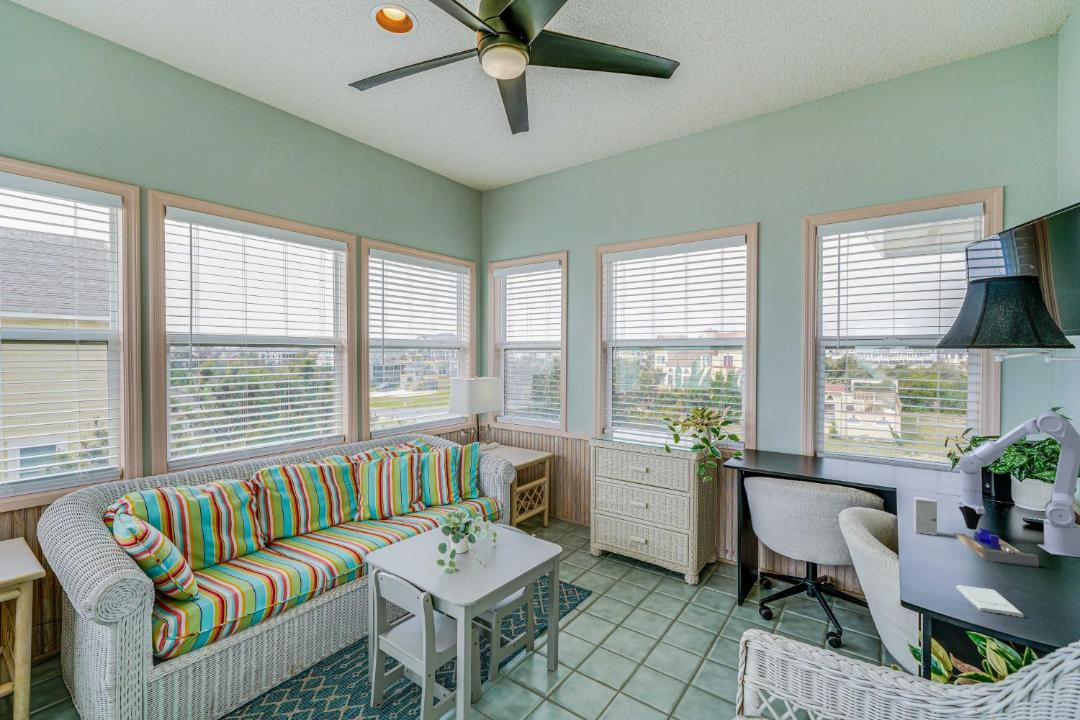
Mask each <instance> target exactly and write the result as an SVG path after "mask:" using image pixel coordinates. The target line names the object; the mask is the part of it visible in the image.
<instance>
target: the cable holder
mask: <svg viewBox="0 0 1080 720" xmlns="http://www.w3.org/2000/svg"><path fill="white" fill-rule="evenodd" d="M975 538H976V539H977V540H978V541H979V542H978V541H977V540H976V539H975ZM999 538H1000V536H998V535H996V534H991V530H990V529H989V528H982V527H980V528H979V531H974V539H975V540H976V541H977V542H978V543H980V542H982V543H981V544H986V545H987V546H989V548H991V549H1000V548H999Z"/></svg>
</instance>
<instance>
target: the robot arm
mask: <svg viewBox="0 0 1080 720" xmlns="http://www.w3.org/2000/svg"><path fill="white" fill-rule="evenodd" d="M1041 431H1042V432H1043V433H1045V434H1047V435H1049V436H1051V437H1053V438H1054V439H1055V440H1056V441H1057V442H1058V443H1060V445H1061V446H1060V451H1059V457H1058V461H1057V466H1056V467H1057V468H1056V474H1055V478H1054V485H1053V489H1052V494H1051V498H1050V500H1049V501H1048V502H1047V503H1046V504H1045V507H1044V508H1045V517H1046V518H1044V519H1043V544H1041V543H1040V544H1038V543H1037V546H1038V548H1041V549H1042V550H1044V551H1045V552H1047V553H1049V554H1050V555H1054V556H1055V555H1056V556H1064V557H1065V556H1066V557H1075V558H1080V525H1078V523H1076V522H1075V521H1076V514H1075V509H1074V499H1075V492H1076V489H1077V488H1076V487H1077V482H1078V477H1079V476H1078V475H1079V470H1080V434H1079V433H1078V431H1077V430H1076V429H1075V427H1074V426H1073V424H1072V423H1071V422H1070V420H1069V419H1067V418H1066V417H1064V416H1063V415H1061V414H1060V413H1057V412H1054V411H1044V412H1041V413H1040V414H1038V415H1037V416H1034V417H1032V418H1030V419H1027V420H1025V421H1024V422H1022V423H1020V424H1019V425H1017V426H1015V427H1014V428H1013V429H1011V430H1010V431H1008V432H1007V433H1005V434H1004V435H1002V436H1001V437H1000V438H998V439H997V440H986V441H982V442H980V443H979V445H978V447H976V448H974V449H973V450H972V451H971V450H968V451H967V452H966V454H965V455H963V456H962V457H961V458H960V459H959V461H958V466H959V467H958V468H960V470H959V496H958V500H956V501H955V503H956V504H958V505H959V506H958V508H959V511H960V512H961V514H962V516H963V518H964V523H965V526H966V528H967V529H969V530H972V531H973V530H977V528H978V525H979V522H980V519H981V518H982V517H983V516H984V515H986V508H984V503H983V482H982V481H983V479H982V477H981V473H982V472H981V469H982V467H983V466H988V465H990V464H991V463H993V462H994V461H996V460H998V459H999V458H1001V457H1002V456H1004V455H1005V452H1006V451H1005V449H1006V448H1007V447H1010V446H1011V445H1013V444H1015V443H1016V442H1019V440H1022V439H1023V438H1025V437H1027V436H1029V435H1039V434H1041ZM961 505H962V506H961Z"/></svg>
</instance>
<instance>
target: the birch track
mask: <svg viewBox="0 0 1080 720" xmlns="http://www.w3.org/2000/svg"><path fill="white" fill-rule="evenodd" d="M953 537H955V538H956V539H957V538H958V540H959V541H960V542H961V543H962V544H964V545H965V546H966V545H967V546H966V547H968V548H969V549H971V551H973V552H974V553H976V554H977V555H978V556H979V557H981V558H982V559H983V549H986V548H985V547H983V546H982V545H981V544H979V542H977V541H975V540H974V539H972V538H971V537H969V536H968V535H967V534H965V533H962V532H961V533H959V532H954V533H953ZM1006 547H1008V548H1013V549H1015V552H1018V553H1023V552H1022V551H1020V550H1019V549H1017V548H1015V547H1014V546H1012V545H1011V544H1009V543H1008V542H1006V541H1005V540H1003V539H1001V538H1000V537H999V548H998V549H1001V551H1006V550H1005V548H1006Z"/></svg>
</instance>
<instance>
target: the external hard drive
mask: <svg viewBox="0 0 1080 720" xmlns="http://www.w3.org/2000/svg"><path fill="white" fill-rule="evenodd" d="M956 590H957V591H958V592H959V593H960V594H961V595H962V596H963V597H964V598H966V600H968V601H969V602H970V604H972V605H973V606H974V605H975V606H976V607H977V608H978V609H979V610H980V611H979V610H978V609H977V608H976V607H975V606H974V607H975V608H976V609H977V610H978V611H979V612H981V611H987V612H986V613H988V612H993V613H992V614H995V613H1001V614H1000V615H1004V614H1005V615H1004V616H1009V615H1012V616H1011V617H1016V616H1018V618H1024V613H1023V612H1021V611H1020V610H1019V609H1018V608H1017V607H1015V606H1014V605H1013V604H1012V603H1011V602H1009V601H1008V600H1007V599H1006V597H1003V595H1001V594H1000V593H999V592H998V591H996V590H995V589H992V588H985V587H983V588H982V587H975V586H970V585H962V584H957V585H956Z"/></svg>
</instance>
